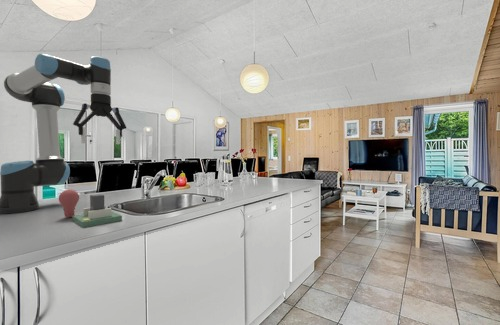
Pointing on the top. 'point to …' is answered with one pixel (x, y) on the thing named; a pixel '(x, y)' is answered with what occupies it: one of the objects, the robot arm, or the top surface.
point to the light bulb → (69, 202)
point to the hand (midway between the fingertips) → (101, 143)
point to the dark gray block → (96, 202)
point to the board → (96, 217)
